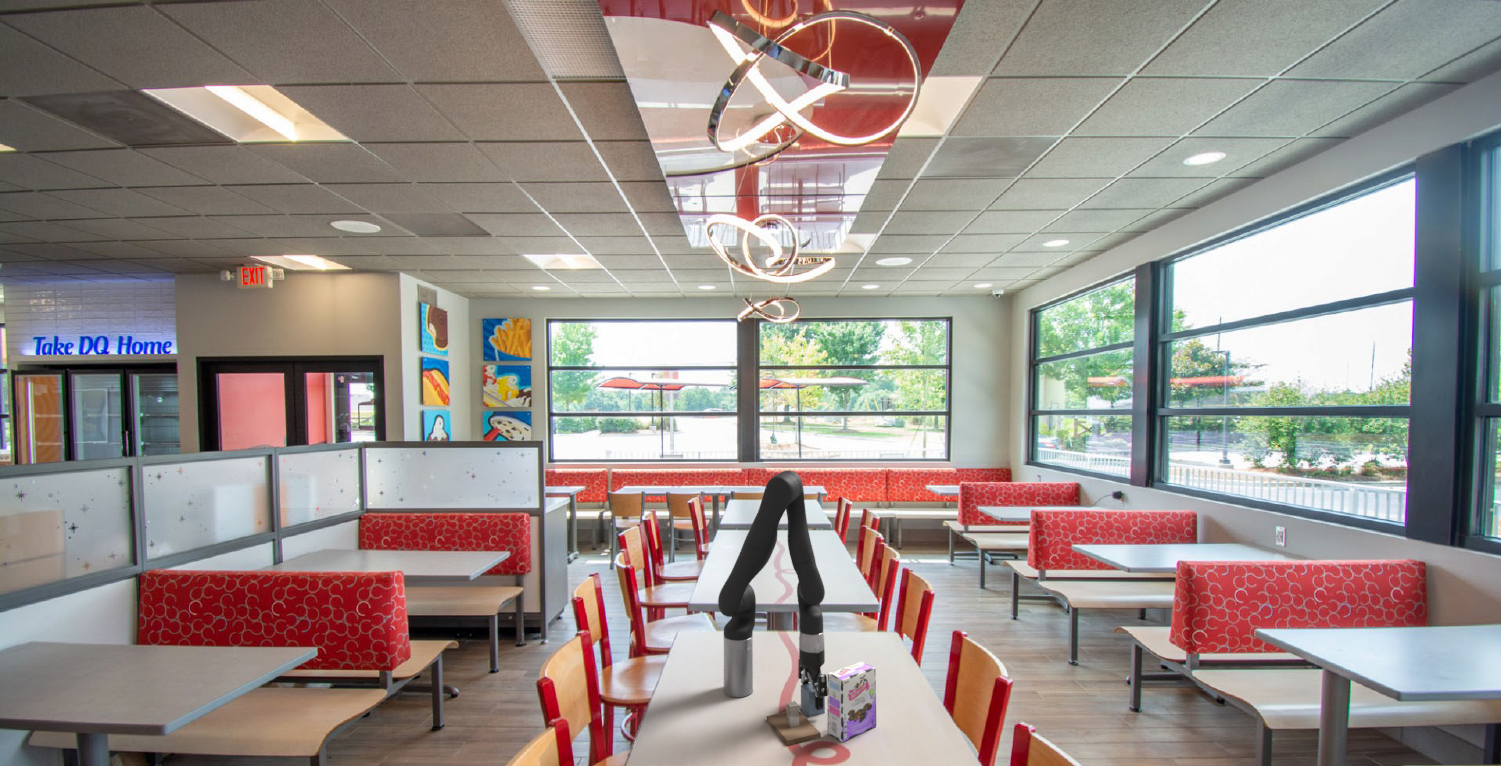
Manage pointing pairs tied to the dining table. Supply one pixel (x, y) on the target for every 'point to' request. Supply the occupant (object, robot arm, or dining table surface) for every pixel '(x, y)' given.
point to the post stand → (793, 725)
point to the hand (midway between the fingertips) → (812, 702)
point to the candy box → (851, 701)
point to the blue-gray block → (810, 700)
